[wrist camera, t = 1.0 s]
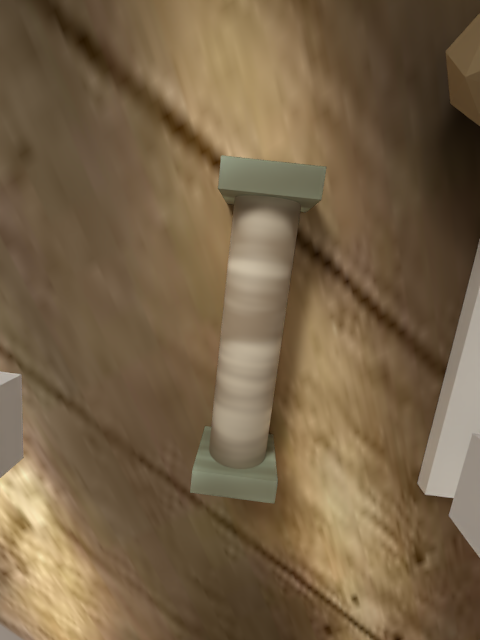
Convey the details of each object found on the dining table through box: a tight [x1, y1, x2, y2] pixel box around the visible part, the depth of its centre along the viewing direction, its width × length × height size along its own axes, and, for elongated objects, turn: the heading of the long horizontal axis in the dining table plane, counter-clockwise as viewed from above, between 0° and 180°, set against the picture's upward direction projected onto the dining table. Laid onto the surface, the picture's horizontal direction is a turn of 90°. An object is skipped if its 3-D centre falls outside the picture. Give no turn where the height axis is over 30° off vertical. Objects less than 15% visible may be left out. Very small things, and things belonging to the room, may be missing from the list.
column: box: [190, 156, 326, 503], centre depth 21 cm, size 20×5×5 cm, turn 174°
